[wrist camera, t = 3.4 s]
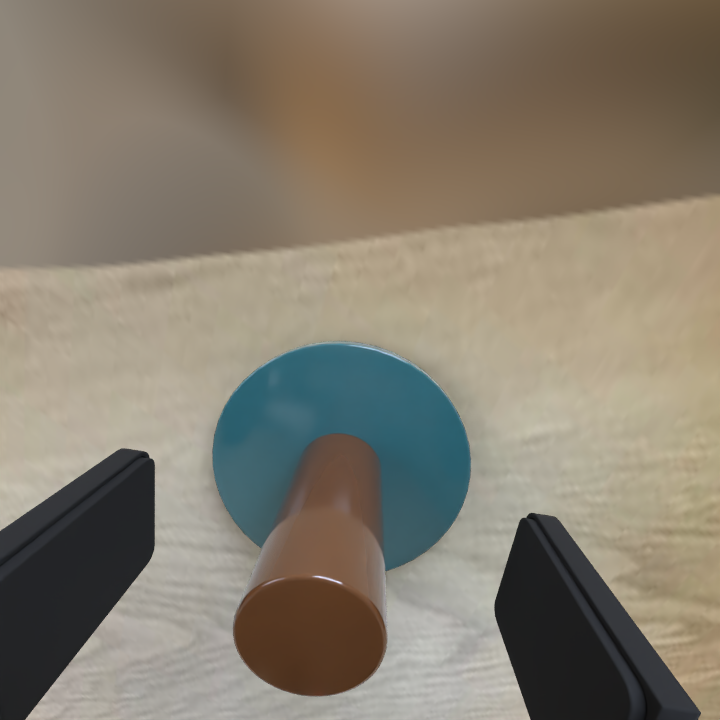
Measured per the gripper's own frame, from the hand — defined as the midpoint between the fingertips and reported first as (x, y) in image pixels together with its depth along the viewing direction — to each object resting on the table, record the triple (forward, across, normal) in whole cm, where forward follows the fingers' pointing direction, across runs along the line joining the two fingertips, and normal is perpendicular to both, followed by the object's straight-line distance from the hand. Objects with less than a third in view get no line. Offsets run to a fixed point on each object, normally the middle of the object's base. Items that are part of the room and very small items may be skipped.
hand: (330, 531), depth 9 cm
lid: (+3, 0, 0) cm, 3 cm away
